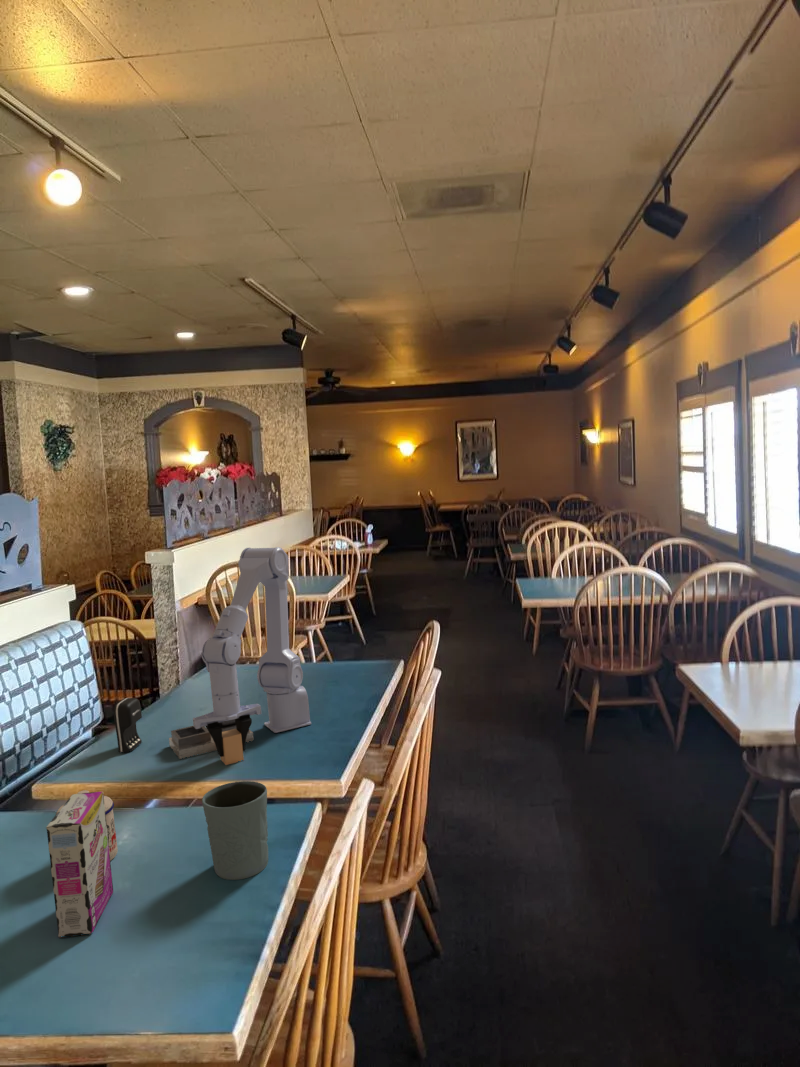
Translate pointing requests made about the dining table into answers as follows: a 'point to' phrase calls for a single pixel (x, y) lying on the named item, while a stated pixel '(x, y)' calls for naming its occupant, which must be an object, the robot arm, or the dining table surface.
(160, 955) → the dining table surface
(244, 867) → the grey cup
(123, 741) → the battery
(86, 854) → the candy bar box
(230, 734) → the plug
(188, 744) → the power strip
